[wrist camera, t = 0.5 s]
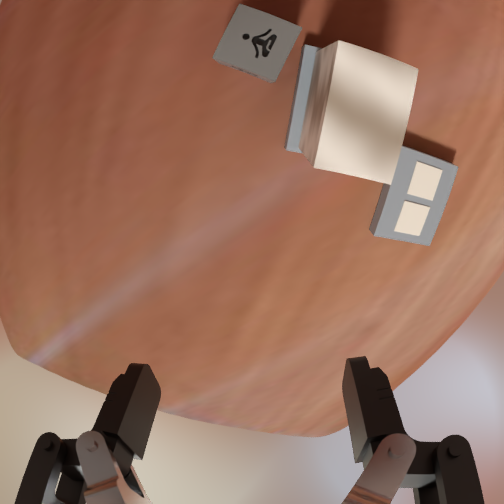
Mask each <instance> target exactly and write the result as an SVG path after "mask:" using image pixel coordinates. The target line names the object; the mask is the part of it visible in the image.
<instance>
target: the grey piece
mask: <svg viewBox="0 0 504 504" xmlns="http://www.w3.org/2000/svg"><path fill="white" fill-rule="evenodd" d="M321 49H322V48H319V47H314V46H310V45H306V44H305V45H304V46H303V47H302V52H301V58H300V63H299V69H298V75H297V80H296V86H295V92H294V97H293V103H292V108H291V114H290V119H289V125H288V130H287V136H286V141H285V146H284V147H285V149H286V150H287V151H293V152H298V153H302V151H301V150H300V149H299V148H298V146H299V141H300V136H301V131H302V126H303V120H304V115H305V110H306V105H307V99H308V94H309V89H310V83H311V78H312V72H313V66H314V61H315V55H316V52H317V51H319V50H321Z"/></svg>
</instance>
